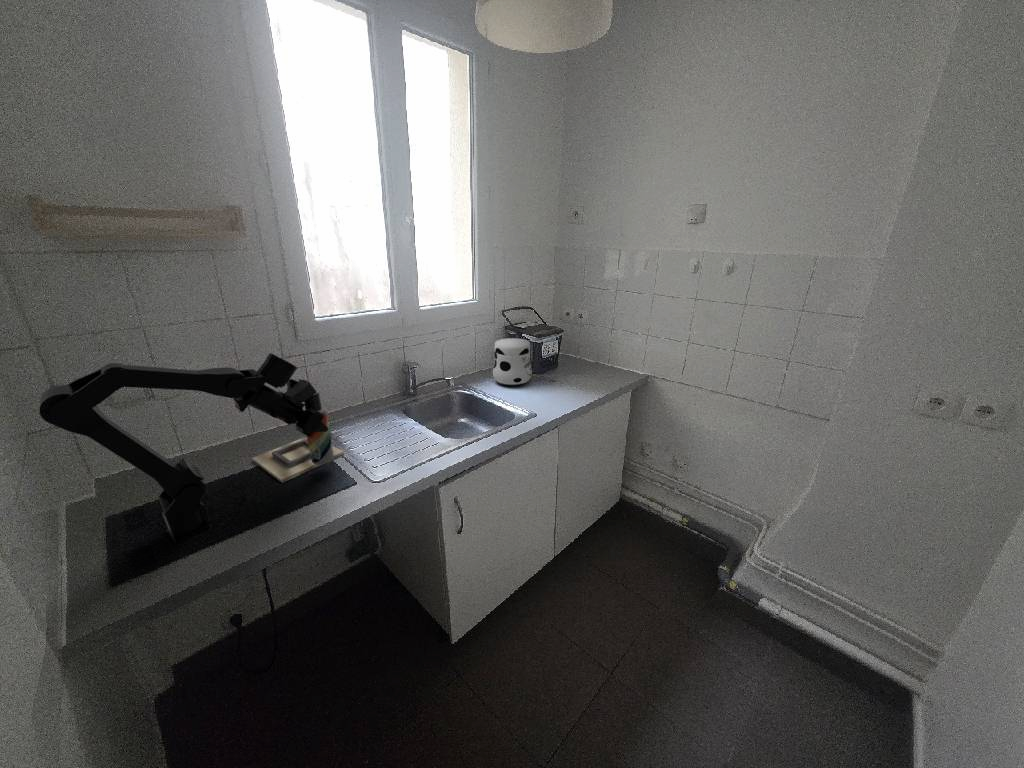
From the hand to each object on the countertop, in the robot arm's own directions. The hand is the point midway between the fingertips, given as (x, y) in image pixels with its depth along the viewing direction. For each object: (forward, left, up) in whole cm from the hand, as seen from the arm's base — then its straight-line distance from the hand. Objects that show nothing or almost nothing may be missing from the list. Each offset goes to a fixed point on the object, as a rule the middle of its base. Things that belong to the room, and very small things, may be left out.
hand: (322, 426), depth 108 cm
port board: (-3, +12, -13) cm, 18 cm away
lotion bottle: (-1, 0, -10) cm, 10 cm away
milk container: (+86, -1, -13) cm, 87 cm away
